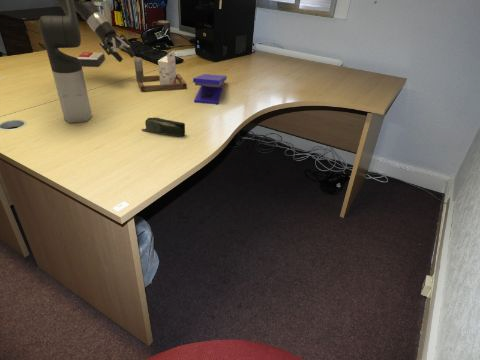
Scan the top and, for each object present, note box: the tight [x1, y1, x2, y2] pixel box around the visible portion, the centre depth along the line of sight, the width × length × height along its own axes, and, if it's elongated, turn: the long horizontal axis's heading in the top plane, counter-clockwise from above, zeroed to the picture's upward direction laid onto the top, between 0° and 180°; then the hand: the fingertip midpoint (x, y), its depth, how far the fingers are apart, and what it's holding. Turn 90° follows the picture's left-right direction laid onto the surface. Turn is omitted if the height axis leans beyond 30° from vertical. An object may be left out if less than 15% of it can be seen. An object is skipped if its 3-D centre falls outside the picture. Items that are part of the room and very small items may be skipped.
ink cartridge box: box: [157, 49, 177, 85], centre depth 150 cm, size 9×5×15 cm, turn 168°
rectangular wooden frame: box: [133, 56, 188, 92], centre depth 149 cm, size 14×21×12 cm
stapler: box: [192, 73, 228, 105], centre depth 147 cm, size 12×28×10 cm, turn 177°
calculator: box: [76, 51, 106, 68], centre depth 173 cm, size 11×4×15 cm
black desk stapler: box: [141, 116, 186, 138], centre depth 113 cm, size 5×3×15 cm
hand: (127, 58), depth 146 cm, fingers open, 8 cm apart
